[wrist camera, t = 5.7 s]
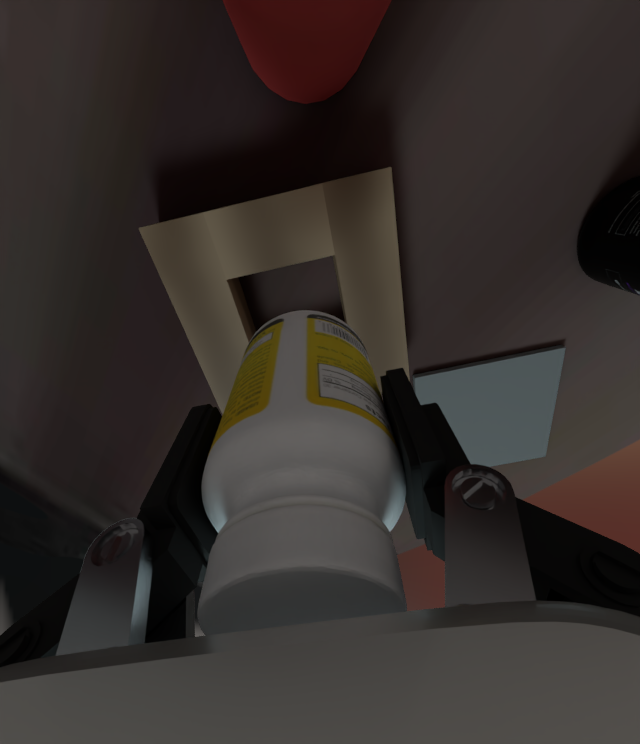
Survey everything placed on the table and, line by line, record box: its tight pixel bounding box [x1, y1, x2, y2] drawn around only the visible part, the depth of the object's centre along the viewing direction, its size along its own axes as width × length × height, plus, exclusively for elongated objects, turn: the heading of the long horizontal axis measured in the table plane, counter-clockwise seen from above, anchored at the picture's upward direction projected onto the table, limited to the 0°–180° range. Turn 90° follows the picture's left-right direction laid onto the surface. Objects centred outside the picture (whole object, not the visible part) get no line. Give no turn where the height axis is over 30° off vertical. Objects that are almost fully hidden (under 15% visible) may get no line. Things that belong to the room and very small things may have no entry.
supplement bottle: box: [198, 310, 407, 636], centre depth 10 cm, size 5×5×10 cm
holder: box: [139, 167, 410, 414], centre depth 22 cm, size 14×14×3 cm
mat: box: [413, 345, 566, 467], centre depth 30 cm, size 12×12×1 cm
